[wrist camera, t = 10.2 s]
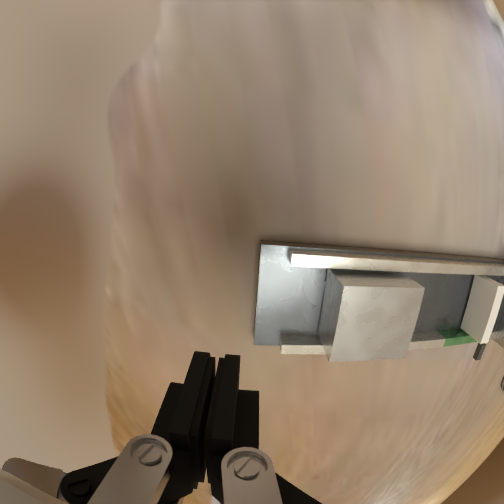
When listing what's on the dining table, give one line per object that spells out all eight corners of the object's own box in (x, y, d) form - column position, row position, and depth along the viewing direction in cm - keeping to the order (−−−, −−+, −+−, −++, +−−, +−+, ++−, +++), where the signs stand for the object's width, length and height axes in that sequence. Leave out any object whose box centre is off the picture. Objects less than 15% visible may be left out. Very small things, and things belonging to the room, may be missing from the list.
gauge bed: (260, 240, 22) (264, 272, 14) (511, 260, 22) (560, 281, 14) (253, 335, 24) (253, 398, 16) (493, 326, 24) (534, 357, 16)
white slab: (474, 274, 21) (498, 286, 17) (482, 274, 21) (506, 286, 17) (455, 343, 22) (474, 360, 19) (462, 341, 22) (482, 359, 19)
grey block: (327, 267, 21) (343, 285, 17) (399, 270, 21) (425, 288, 17) (317, 333, 22) (329, 361, 18) (385, 332, 22) (405, 357, 18)
